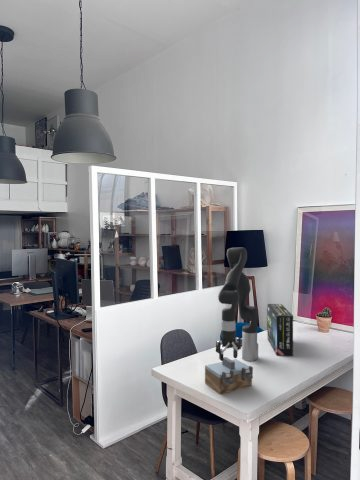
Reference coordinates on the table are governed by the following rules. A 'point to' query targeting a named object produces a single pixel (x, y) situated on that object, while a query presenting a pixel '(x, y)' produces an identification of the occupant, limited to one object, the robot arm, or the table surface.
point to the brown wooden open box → (229, 381)
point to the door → (227, 367)
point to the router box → (280, 329)
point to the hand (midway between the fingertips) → (228, 359)
